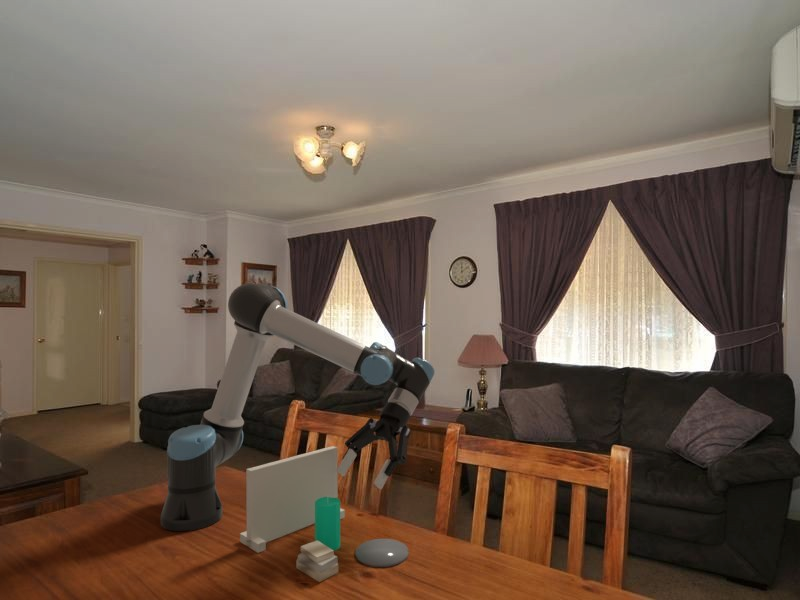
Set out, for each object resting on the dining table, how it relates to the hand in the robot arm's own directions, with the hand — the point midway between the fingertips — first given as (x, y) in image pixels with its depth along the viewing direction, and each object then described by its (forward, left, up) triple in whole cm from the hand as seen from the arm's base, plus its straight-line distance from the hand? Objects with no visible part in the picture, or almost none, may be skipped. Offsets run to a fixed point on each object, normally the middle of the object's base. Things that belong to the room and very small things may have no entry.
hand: (357, 479), depth 126 cm
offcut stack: (+6, -18, -13) cm, 23 cm away
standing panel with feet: (-14, -9, -13) cm, 21 cm away
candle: (-1, -9, -13) cm, 16 cm away
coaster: (+11, -3, -13) cm, 18 cm away
